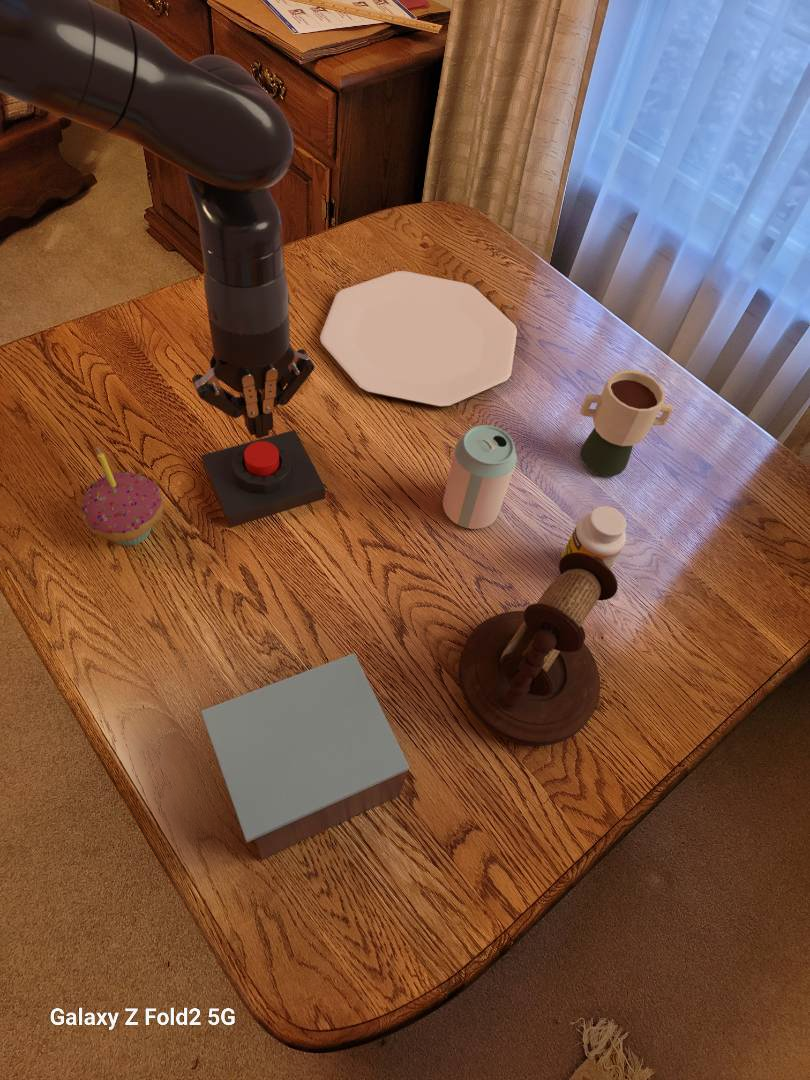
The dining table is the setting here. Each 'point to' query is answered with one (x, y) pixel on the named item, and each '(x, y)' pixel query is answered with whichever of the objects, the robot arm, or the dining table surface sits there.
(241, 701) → the grey-topped wooden block
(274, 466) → the button
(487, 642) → the wooden spool stand
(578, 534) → the supplement bottle
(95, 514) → the cupcake
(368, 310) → the plate
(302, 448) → the button block
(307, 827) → the open box
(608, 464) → the trophy cup
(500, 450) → the can
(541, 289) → the dining table surface
